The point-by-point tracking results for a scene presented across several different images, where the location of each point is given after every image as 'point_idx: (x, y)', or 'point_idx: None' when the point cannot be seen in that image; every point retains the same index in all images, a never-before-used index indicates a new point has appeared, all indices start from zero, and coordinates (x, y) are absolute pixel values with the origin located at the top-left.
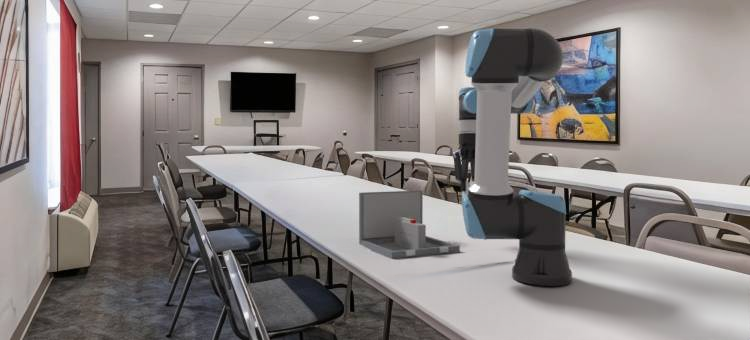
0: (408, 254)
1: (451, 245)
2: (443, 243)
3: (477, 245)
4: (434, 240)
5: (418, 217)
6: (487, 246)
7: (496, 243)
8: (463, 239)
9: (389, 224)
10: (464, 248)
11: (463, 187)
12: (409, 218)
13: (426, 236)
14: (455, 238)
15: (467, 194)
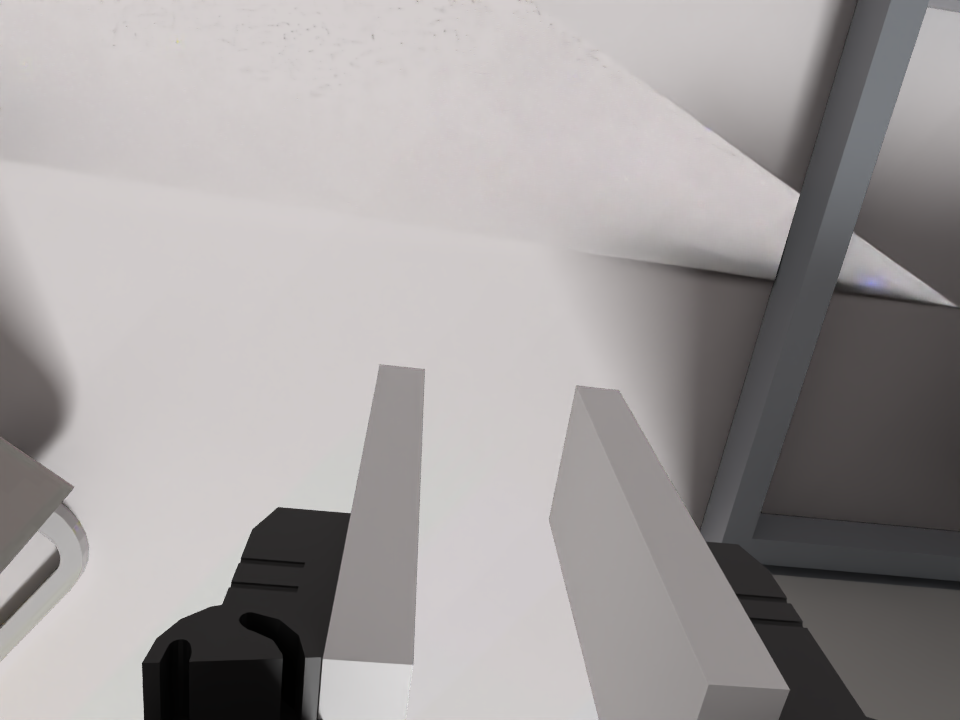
0: None
1: (906, 52)
2: (856, 197)
3: (474, 118)
4: (809, 348)
5: None
6: (428, 14)
7: (225, 90)
8: (363, 421)
9: None
10: (695, 69)
11: (779, 615)
12: (939, 693)
13: (741, 503)
14: None
15: (632, 456)
